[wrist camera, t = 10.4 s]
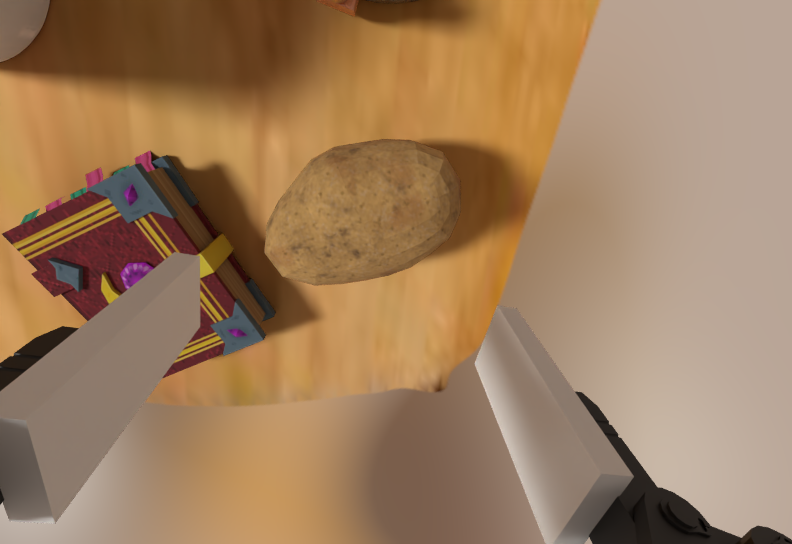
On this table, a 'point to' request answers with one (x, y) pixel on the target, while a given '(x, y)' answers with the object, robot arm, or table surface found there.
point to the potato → (363, 212)
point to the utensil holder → (20, 24)
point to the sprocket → (342, 5)
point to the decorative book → (142, 253)
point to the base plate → (391, 1)
